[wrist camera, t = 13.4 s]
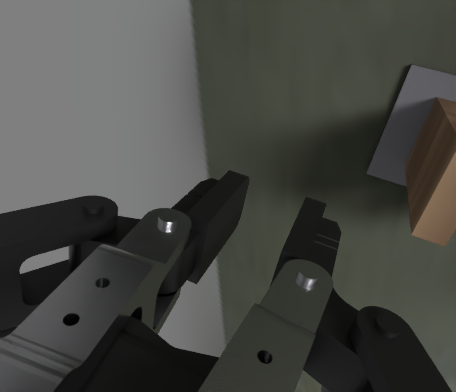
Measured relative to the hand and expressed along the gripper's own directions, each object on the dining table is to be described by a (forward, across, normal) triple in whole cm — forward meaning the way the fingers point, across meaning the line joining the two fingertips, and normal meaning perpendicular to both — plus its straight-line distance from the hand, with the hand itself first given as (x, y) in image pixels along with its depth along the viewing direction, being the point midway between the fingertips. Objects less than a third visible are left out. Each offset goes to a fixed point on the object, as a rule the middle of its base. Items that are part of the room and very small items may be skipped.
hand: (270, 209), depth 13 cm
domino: (+17, -7, 0) cm, 18 cm away
